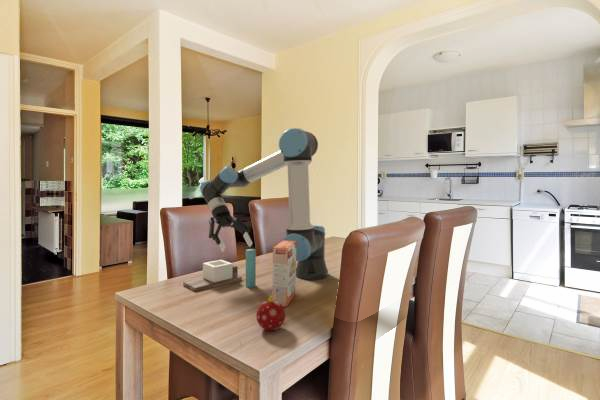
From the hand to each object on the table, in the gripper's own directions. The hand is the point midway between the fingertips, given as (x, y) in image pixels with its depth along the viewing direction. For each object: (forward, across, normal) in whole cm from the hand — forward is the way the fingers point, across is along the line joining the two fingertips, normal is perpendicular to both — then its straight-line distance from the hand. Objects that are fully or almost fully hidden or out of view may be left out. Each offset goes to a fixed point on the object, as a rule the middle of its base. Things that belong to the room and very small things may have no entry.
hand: (237, 247), depth 146 cm
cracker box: (+31, 0, +10) cm, 33 cm away
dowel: (+16, 0, -4) cm, 17 cm away
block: (+5, +7, -13) cm, 16 cm away
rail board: (+7, +9, -14) cm, 18 cm away
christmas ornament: (+42, +18, +21) cm, 51 cm away
